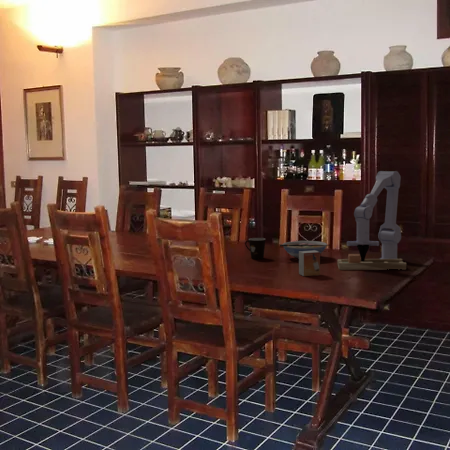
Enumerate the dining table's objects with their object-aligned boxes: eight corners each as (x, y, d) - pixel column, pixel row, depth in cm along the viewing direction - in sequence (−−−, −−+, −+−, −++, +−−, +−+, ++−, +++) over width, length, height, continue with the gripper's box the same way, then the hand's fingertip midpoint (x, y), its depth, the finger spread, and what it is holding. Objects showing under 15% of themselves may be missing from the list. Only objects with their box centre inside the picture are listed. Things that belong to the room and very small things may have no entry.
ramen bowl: (327, 254, 323) (327, 238, 322) (331, 262, 300) (331, 245, 299) (280, 254, 325) (280, 239, 324) (280, 262, 303) (279, 246, 302)
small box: (303, 276, 268) (303, 253, 267) (298, 274, 274) (298, 251, 272) (320, 275, 270) (320, 251, 269) (315, 272, 276) (315, 249, 274)
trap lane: (337, 265, 292) (337, 259, 291) (401, 265, 289) (401, 258, 288) (339, 269, 281) (339, 263, 281) (406, 269, 278) (406, 263, 277)
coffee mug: (268, 258, 313) (268, 239, 312) (253, 260, 310) (252, 240, 309) (259, 255, 324) (258, 236, 323) (244, 256, 321) (243, 238, 320)
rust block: (348, 262, 288) (348, 253, 288) (359, 262, 288) (359, 253, 287) (349, 264, 283) (349, 255, 283) (360, 264, 283) (360, 255, 282)
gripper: (347, 233, 280) (347, 262, 282) (380, 233, 278) (379, 262, 280) (346, 231, 287) (346, 259, 289) (377, 231, 285) (377, 259, 287)
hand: (362, 261), depth 285 cm, fingers closed
